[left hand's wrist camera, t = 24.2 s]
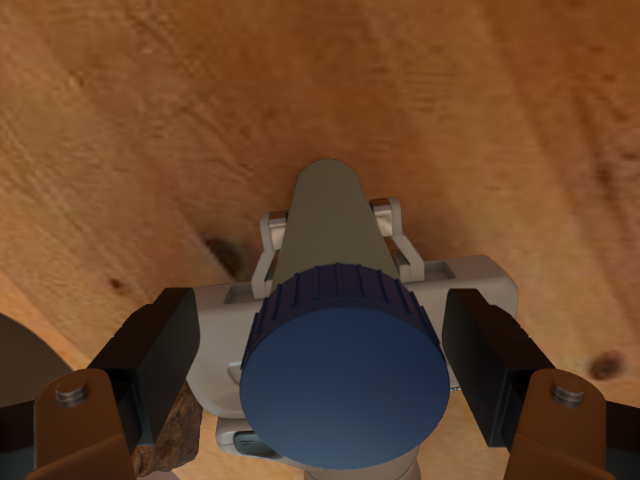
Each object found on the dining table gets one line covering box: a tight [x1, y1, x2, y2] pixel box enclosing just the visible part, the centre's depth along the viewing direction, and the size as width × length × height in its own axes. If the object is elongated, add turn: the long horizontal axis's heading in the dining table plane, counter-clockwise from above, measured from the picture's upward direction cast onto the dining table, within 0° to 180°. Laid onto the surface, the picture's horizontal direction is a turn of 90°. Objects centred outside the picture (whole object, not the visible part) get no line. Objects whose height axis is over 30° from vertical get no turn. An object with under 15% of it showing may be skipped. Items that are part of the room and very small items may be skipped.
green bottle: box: [269, 159, 403, 295], centre depth 19 cm, size 5×5×19 cm
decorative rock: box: [131, 379, 203, 478], centre depth 28 cm, size 12×6×11 cm, turn 173°
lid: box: [239, 262, 450, 470], centre depth 10 cm, size 5×5×2 cm
